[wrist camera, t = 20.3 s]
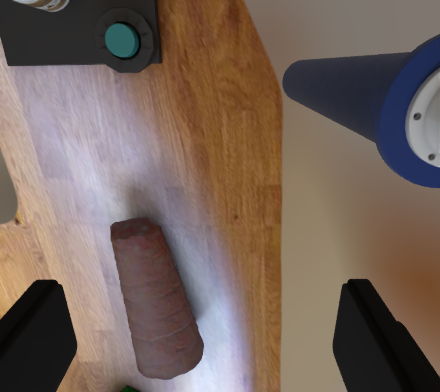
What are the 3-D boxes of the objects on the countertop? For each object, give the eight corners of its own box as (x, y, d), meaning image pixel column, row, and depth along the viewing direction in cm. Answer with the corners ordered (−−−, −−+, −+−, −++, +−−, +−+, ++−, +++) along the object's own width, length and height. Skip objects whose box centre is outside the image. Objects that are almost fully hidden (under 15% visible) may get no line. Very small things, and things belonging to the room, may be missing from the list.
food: (206, 326, 48) (202, 381, 40) (148, 337, 49) (132, 392, 41) (163, 204, 40) (147, 240, 32) (95, 219, 41) (62, 258, 33)
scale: (150, -77, 29) (143, -93, 26) (162, 71, 34) (157, 72, 31) (-19, -73, 29) (-44, -87, 27) (17, 74, 34) (-1, 75, 32)
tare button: (137, 24, 30) (132, 23, 29) (140, 56, 31) (136, 56, 30) (108, 25, 30) (102, 23, 29) (112, 57, 31) (107, 57, 30)
